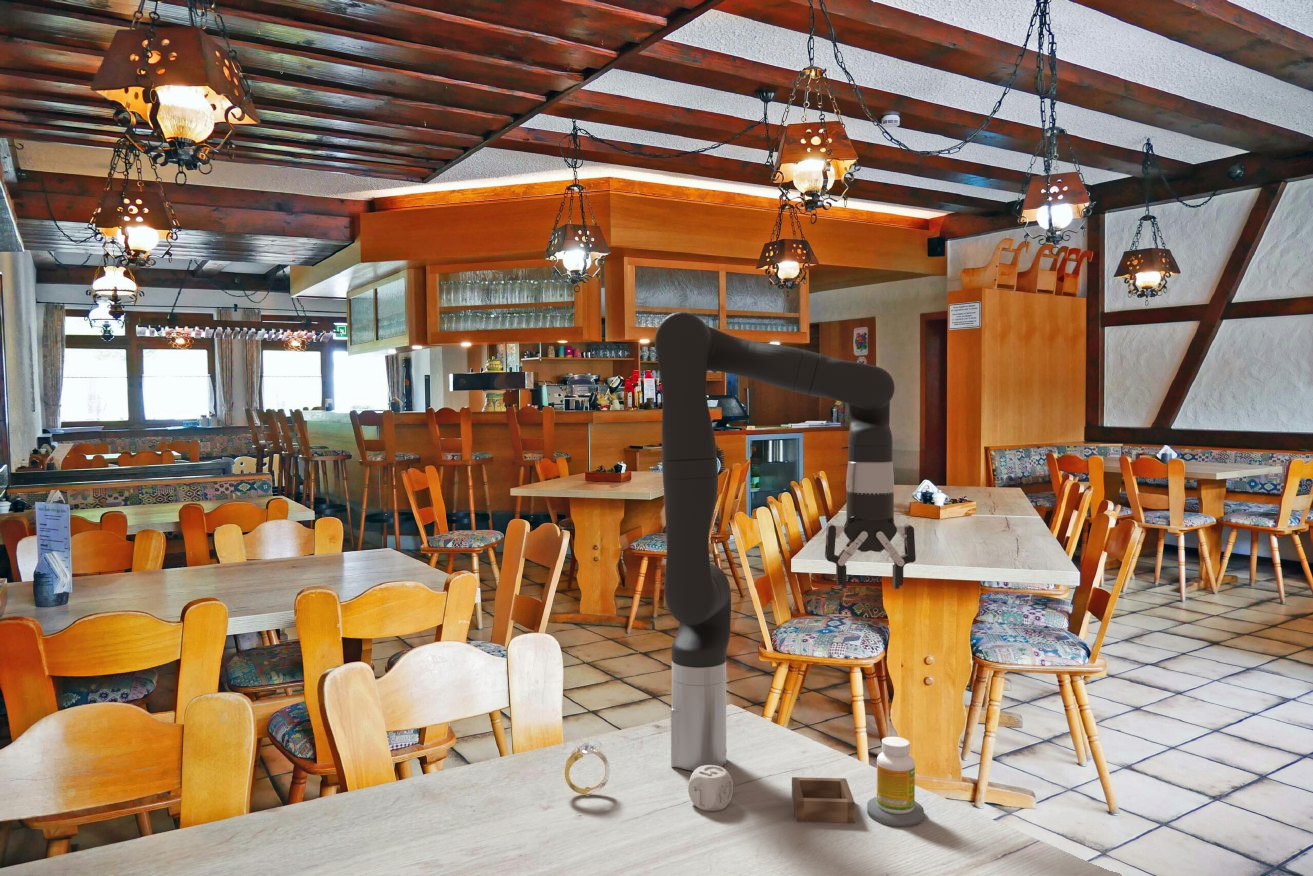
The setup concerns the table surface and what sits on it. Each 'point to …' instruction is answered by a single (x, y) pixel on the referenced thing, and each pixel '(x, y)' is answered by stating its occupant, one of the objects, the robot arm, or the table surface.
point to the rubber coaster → (895, 815)
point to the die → (710, 787)
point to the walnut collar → (823, 800)
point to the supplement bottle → (895, 776)
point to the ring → (581, 751)
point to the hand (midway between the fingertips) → (869, 588)
